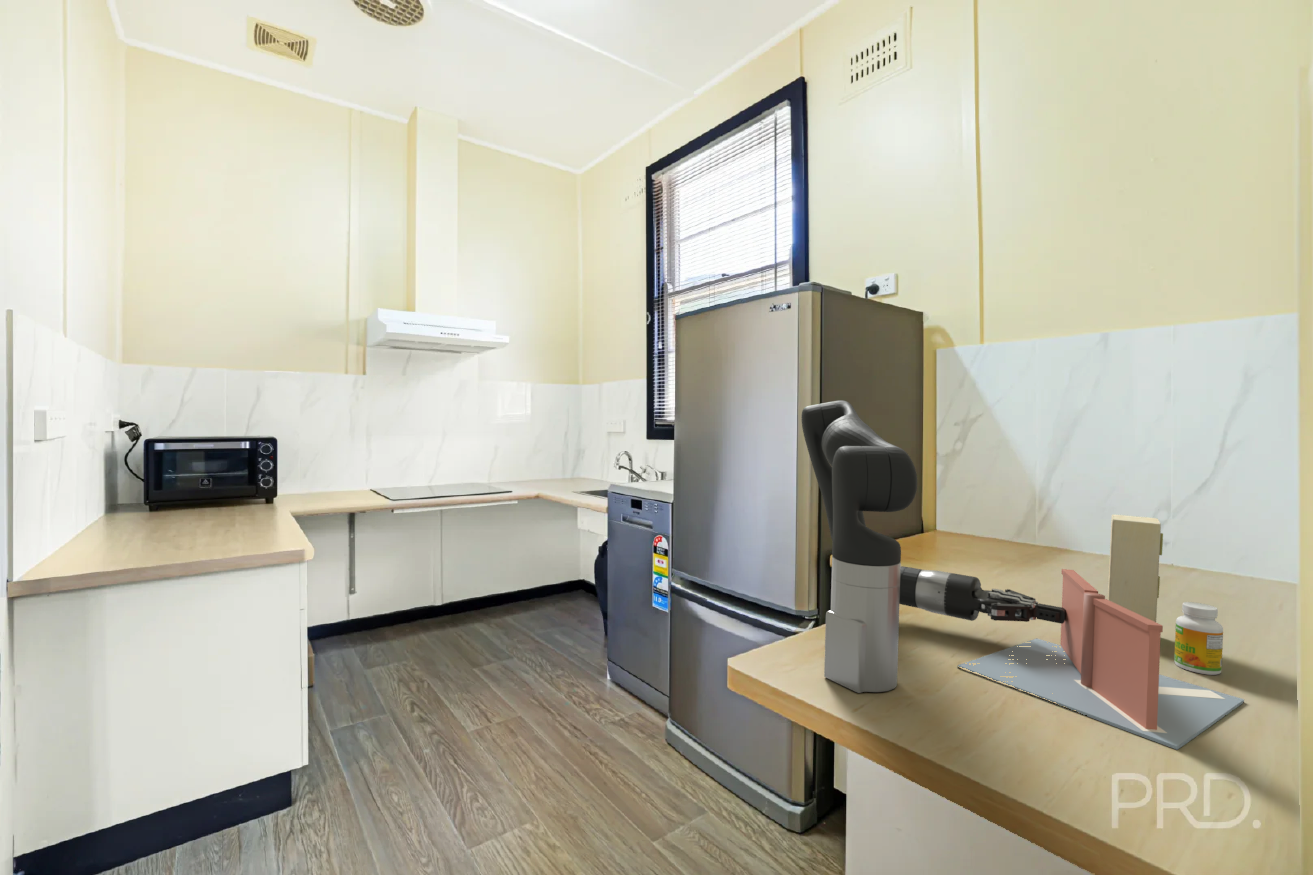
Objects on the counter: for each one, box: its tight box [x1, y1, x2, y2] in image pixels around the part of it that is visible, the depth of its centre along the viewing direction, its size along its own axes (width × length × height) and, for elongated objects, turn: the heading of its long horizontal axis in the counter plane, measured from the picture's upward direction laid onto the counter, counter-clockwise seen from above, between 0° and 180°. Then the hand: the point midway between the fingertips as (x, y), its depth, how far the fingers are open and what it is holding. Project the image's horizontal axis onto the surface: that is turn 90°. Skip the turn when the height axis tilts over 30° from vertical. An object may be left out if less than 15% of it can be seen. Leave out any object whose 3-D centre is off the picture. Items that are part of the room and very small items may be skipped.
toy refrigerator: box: [1107, 514, 1164, 623], centre depth 104 cm, size 8×7×21 cm
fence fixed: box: [1081, 592, 1164, 730], centre depth 78 cm, size 14×2×13 cm, turn 172°
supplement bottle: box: [1173, 601, 1224, 676], centre depth 91 cm, size 5×5×10 cm
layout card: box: [957, 638, 1245, 751], centre depth 85 cm, size 24×26×1 cm
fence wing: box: [1060, 568, 1099, 674], centre depth 91 cm, size 14×2×13 cm, turn 157°
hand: (1064, 616), depth 95 cm, fingers closed
